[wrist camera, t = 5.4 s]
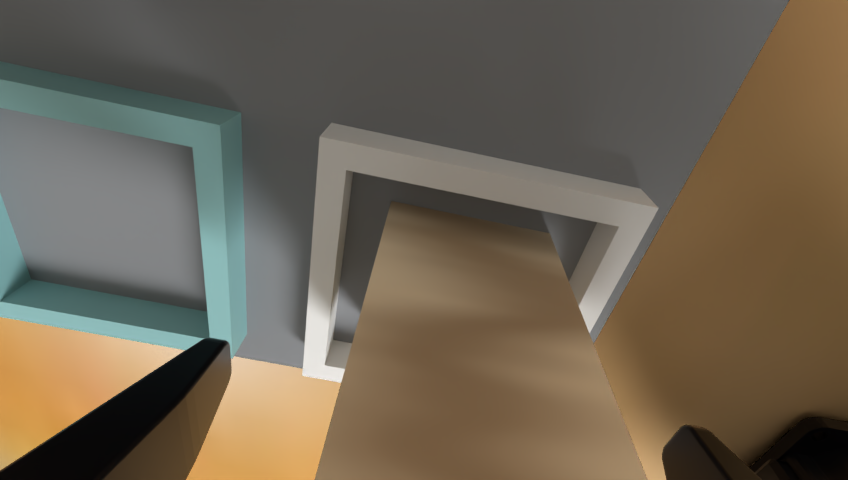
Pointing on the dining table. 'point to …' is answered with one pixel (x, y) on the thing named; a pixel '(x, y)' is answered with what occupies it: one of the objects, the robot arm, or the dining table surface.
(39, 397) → the dining table surface
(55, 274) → the grey shape sorting board
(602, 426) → the block
